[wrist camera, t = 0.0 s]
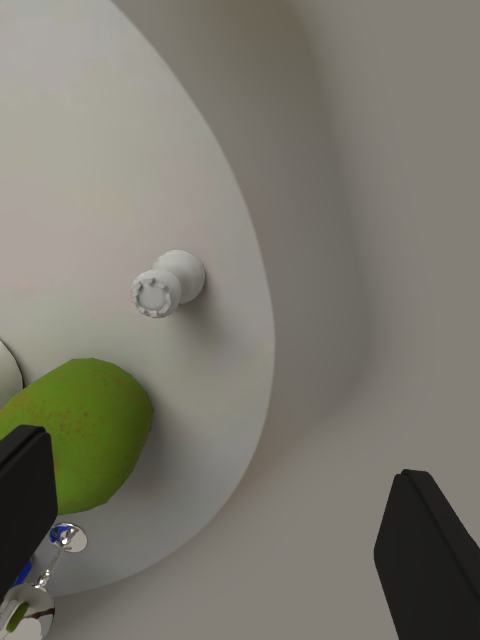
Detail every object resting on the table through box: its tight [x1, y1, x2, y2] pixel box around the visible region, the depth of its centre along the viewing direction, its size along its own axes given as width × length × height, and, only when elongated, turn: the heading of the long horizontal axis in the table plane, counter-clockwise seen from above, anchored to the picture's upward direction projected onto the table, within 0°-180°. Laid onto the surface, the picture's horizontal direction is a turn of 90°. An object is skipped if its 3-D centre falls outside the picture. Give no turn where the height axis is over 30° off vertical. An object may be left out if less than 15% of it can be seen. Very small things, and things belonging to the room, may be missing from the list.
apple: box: [0, 358, 154, 515], centre depth 28 cm, size 11×11×11 cm
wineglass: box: [0, 523, 87, 640], centre depth 33 cm, size 6×6×12 cm
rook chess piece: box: [131, 250, 205, 318], centre depth 25 cm, size 4×4×8 cm
